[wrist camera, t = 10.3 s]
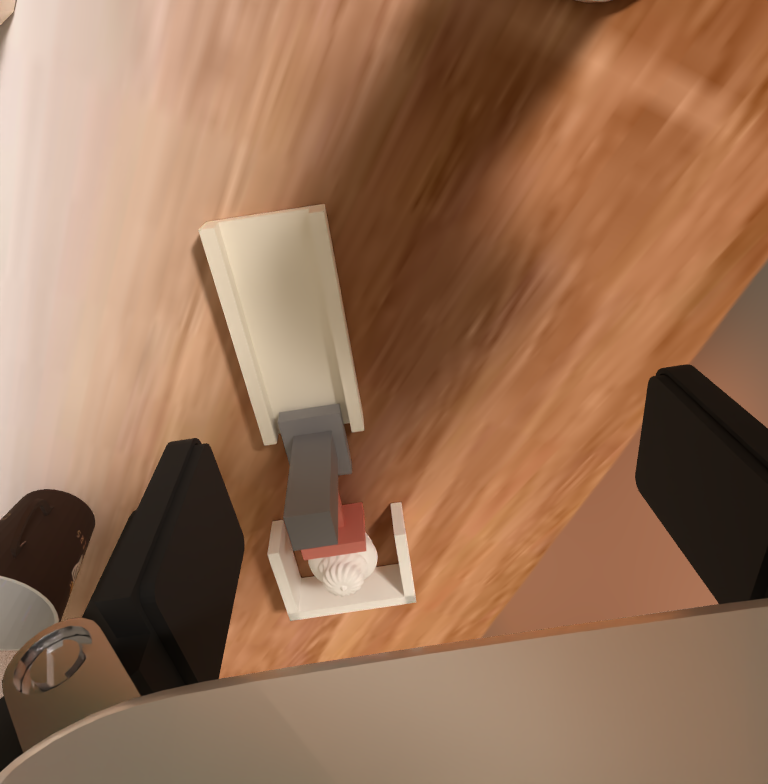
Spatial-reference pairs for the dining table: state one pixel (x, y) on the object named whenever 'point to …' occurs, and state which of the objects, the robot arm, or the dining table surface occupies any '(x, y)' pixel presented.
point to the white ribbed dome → (345, 570)
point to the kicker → (319, 484)
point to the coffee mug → (39, 562)
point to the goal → (316, 601)
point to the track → (284, 312)
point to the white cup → (6, 9)
